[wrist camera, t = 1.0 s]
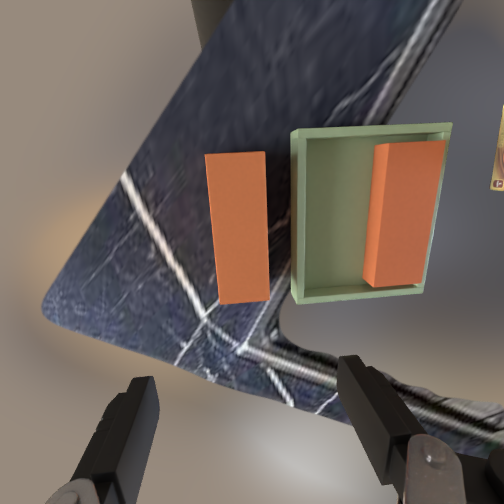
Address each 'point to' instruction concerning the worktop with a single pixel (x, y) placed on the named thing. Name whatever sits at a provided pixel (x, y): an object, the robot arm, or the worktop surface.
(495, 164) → the candy box
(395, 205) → the pad
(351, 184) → the pad tray
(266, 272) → the orange block
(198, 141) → the worktop surface
